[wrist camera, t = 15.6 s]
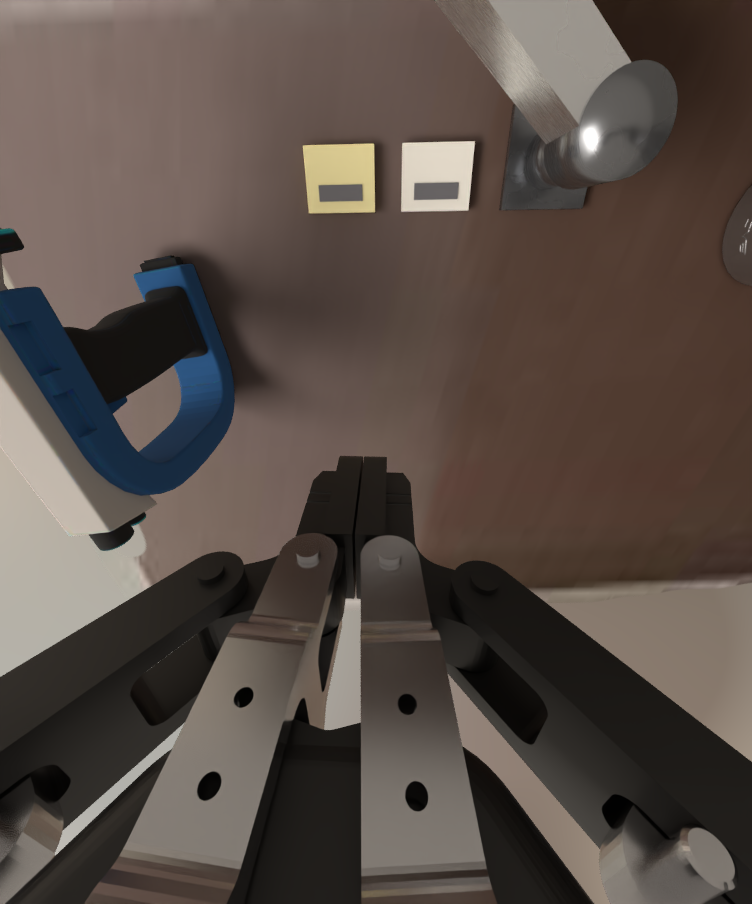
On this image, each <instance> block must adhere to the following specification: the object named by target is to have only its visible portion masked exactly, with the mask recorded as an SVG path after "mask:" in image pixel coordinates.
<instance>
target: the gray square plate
mask: <svg viewBox="0 0 752 904" xmlns="http://www.w3.org/2000/svg"><path fill="white" fill-rule="evenodd" d="M544 146H545V142H544V141H543V140H542V138H541V137H540V136H539V135H538V133H537V132H536V131H535V129H534V128H533V127H532V126H531V124H530V123H529V122H528V120H527V119H526V118H525V117H524V115H523V114H522V113H521V111H520V110H519V109H518V108H517V106H516V105H515V104H514V105H513V110H512V117H511V125H510V132H509V140H508V148H507V155H506V163H505V170H504V178H503V185H502V193H501V201H500V208H499V210H539V209H581V208H583V204H584V199H585V195H586V190H587V187H585V188H580V189H574V190H570V189H564V188H561V187H559V186H558V185H556V184H555V183H554V182H553V181H552V180H551V179H550V177H549V176H548V173H547V171H546V168H545V164H544Z"/></svg>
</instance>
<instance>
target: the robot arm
mask: <svg viewBox="0 0 752 904" xmlns="http://www.w3.org/2000/svg"><path fill="white" fill-rule="evenodd" d="M722 252H723V261H724V264H725V266H726V269H727V271H728V272H729V274H730V275H731V276H732V277H733V278H734V279H735V280H737V281H739V282H740V283H742V284H745V285H750V286H752V185H751V187H750V188H749V189H748V190H747V191H746V192H745V194H744V195H743V197H742V198H741V200H740V201H739V203H738V204H737V206H736V207H735V209H734V211H733V213H732V215H731V217H730V219H729V221H728V224H727V228H726V231H725V234H724V239H723V247H722ZM386 469H387V457H364V463H363V457H361V456H340V457H339V461H338V466H337V470H336V471H322V472H321V473H320V474H319V475H318V476H317V477H316V478H315V479H314V480H313V483H312V486H311V489H310V494H309V496H308V499H307V503H306V505H305V509H304V512H303V515H302V518H301V521H300V525H299V528H298V531H297V534H296V537H294V538H292V539H291V540H289V541H288V542H287V543H286V544H285V545H284V546H283V547H282V549H281V551H280V553H279V555H278V556H276V557H273V558H271V559H268V560H264V561H260V562H255V563H251V564H246V565H244V564H243V562H242V560H241V558H240V557H239V556H237V555H236V554H233V553H230V552H214V553H210V554H206V555H204V556H201V557H200V558H198V559H196V560H194V561H192V562H191V563H189V564H187V565H186V566H184V567H183V568H181V569H179V570H178V571H176V572H174V573H173V574H171V575H169V576H168V577H166V578H164V579H163V580H161V581H159V582H158V583H156V584H154V585H153V586H151V587H149V588H148V589H146V590H144V591H143V592H141V593H139V594H138V595H136V596H134V597H133V598H131V599H129V600H128V601H126V602H124V603H123V604H121V605H119V606H118V607H116V608H115V609H113V610H111V611H109V612H108V613H106V614H104V615H103V616H101V617H99V618H98V619H96V620H95V621H93V622H91V623H89V624H88V625H86V626H84V627H83V628H81V629H80V630H78V631H76V632H74V633H73V634H71V635H70V636H68V637H66V638H65V639H63V640H61V641H60V642H58V643H56V644H55V645H53V646H52V647H50V648H48V649H46V650H45V651H43V652H41V653H40V654H38V655H36V656H35V657H33V658H31V659H30V660H28V661H26V662H25V663H23V664H22V665H20V666H18V667H16V668H15V669H13V670H11V671H10V672H8V673H6V674H5V675H3V676H2V677H0V904H594V903H593V902H592V900H591V899H590V898H589V896H588V895H587V894H586V892H585V891H584V890H583V889H582V887H581V886H580V885H579V883H578V882H577V880H576V879H575V878H574V876H573V875H572V874H571V872H570V871H569V870H568V868H567V867H566V866H565V864H564V863H563V862H562V860H561V859H560V858H559V856H558V855H557V854H556V853H555V851H554V850H553V848H552V847H551V846H550V844H549V843H548V842H547V840H546V839H545V838H544V836H543V835H542V834H541V832H540V831H539V830H538V828H537V827H536V826H535V824H534V823H533V822H532V820H531V819H530V818H529V816H528V815H527V814H526V812H525V811H524V810H523V808H522V807H521V806H520V804H519V803H518V802H517V800H516V799H515V798H514V796H513V795H512V794H511V792H510V791H509V790H508V788H507V787H506V786H505V785H504V783H503V782H502V781H501V780H500V779H499V778H498V777H497V775H496V774H495V773H494V772H493V771H492V770H491V769H490V768H489V767H488V766H487V765H486V764H485V763H484V762H482V761H481V760H480V759H479V758H478V757H477V756H475V755H474V754H472V753H471V752H470V751H468V750H467V749H465V748H464V747H462V743H461V738H460V733H459V728H458V723H457V718H456V713H455V708H454V703H453V698H452V693H451V688H450V684H449V678H448V674H449V675H450V676H451V678H452V679H453V680H454V681H455V682H456V683H457V685H458V686H459V687H460V688H461V689H462V690H463V691H464V692H465V694H466V695H467V696H468V697H469V698H470V700H471V701H472V702H473V703H474V704H475V705H476V706H477V707H478V709H479V710H480V711H481V712H482V713H483V715H484V716H485V717H486V718H487V719H488V720H489V721H490V723H491V724H492V725H493V726H494V727H495V728H496V730H497V731H498V732H499V733H500V734H501V735H502V736H503V738H504V739H505V740H506V741H507V742H508V743H509V745H510V746H511V747H512V748H513V749H514V750H515V752H516V753H517V754H518V755H519V756H520V757H521V758H522V760H523V761H524V762H525V763H526V764H527V765H528V767H529V768H530V769H531V770H532V771H533V772H534V774H535V775H536V776H537V777H538V778H539V779H540V780H541V782H542V783H543V784H544V785H545V786H546V787H547V789H548V790H549V791H550V792H551V793H552V794H553V795H554V797H555V798H556V799H557V800H558V801H559V802H560V804H561V805H562V806H563V807H564V808H565V809H566V810H567V812H568V813H569V814H570V815H571V816H572V817H573V818H574V820H575V821H576V822H577V823H578V824H579V826H581V828H582V829H583V830H584V831H585V832H586V833H587V835H588V836H589V837H590V838H591V839H592V841H593V842H594V843H595V844H596V845H597V846H598V847H599V849H600V853H599V865H600V874H601V878H602V883H603V886H604V889H605V892H606V895H607V897H608V900H609V902H610V904H752V762H751V761H750V760H748V759H747V758H746V757H744V756H743V755H742V754H741V753H739V752H738V751H737V750H735V749H734V748H733V747H732V746H730V745H729V744H728V743H726V742H725V741H724V740H722V739H721V738H720V737H719V736H717V735H716V734H714V733H713V732H712V731H711V730H710V729H708V728H707V727H706V726H704V725H703V724H702V723H701V722H699V721H698V720H696V719H695V718H694V717H693V716H692V715H690V714H689V713H687V712H686V711H685V710H684V709H682V708H681V707H680V706H679V705H677V704H676V703H675V702H673V701H672V700H671V699H670V698H668V697H667V696H666V695H664V694H663V693H662V692H661V691H659V690H658V689H657V688H655V687H654V686H653V685H651V684H650V683H649V682H648V681H646V680H645V679H644V678H642V677H641V676H640V675H638V674H637V673H636V672H635V671H633V670H632V669H631V668H630V667H628V666H627V665H626V664H624V663H623V662H622V661H620V660H619V659H618V658H617V657H615V656H614V655H613V654H611V653H610V652H609V651H608V650H606V649H605V648H604V647H602V646H601V645H600V644H598V643H597V642H596V641H595V640H593V639H592V638H591V637H589V636H588V635H587V634H586V633H584V632H583V631H582V630H580V629H579V628H578V627H577V626H575V625H574V624H573V623H571V622H570V621H569V620H568V619H566V618H565V617H564V616H562V615H561V614H560V613H558V612H557V611H556V610H555V609H553V608H552V607H551V606H549V605H548V604H547V603H546V602H544V601H543V600H542V599H540V598H539V597H538V596H537V595H535V594H534V593H533V592H531V591H530V590H529V589H527V588H526V587H525V586H524V585H522V584H521V583H520V582H518V581H517V580H516V579H515V578H513V577H512V576H511V575H509V574H508V573H507V572H506V571H504V570H503V569H501V568H500V567H498V566H496V565H494V564H491V563H489V562H485V561H469V562H465V563H463V564H461V565H460V566H458V567H457V568H456V570H452V569H449V568H446V567H442V566H439V565H437V564H434V563H432V562H430V561H429V560H427V559H426V558H425V557H424V556H423V555H422V554H421V553H420V552H419V551H418V549H417V547H416V544H415V537H414V524H413V511H412V498H411V485H410V482H409V480H408V479H407V478H406V476H405V475H404V474H403V473H386ZM355 587H356V588H357V598H358V599H361V723H358V724H354V725H350V726H346V727H342V728H338V729H334V730H324V725H325V711H326V701H327V696H328V690H329V686H330V681H331V677H332V672H333V667H334V662H335V657H336V652H337V648H338V643H339V638H340V633H341V628H342V617H343V613H344V606H345V598H353V599H354V597H355ZM193 636H194V637H193ZM189 639H190V640H189ZM182 644H183V645H182ZM178 647H179V648H178ZM174 650H175V651H174ZM170 653H171V654H170ZM166 656H167V657H166ZM162 659H163V660H162ZM158 662H159V663H158ZM155 664H156V665H155ZM151 667H152V668H151ZM147 670H148V671H147ZM184 722H185V723H184ZM183 723H184V725H183V728H182V730H181V732H180V734H179V736H178V738H177V740H176V742H175V744H174V746H173V748H172V749H171V750H170V751H168V752H167V753H166V754H164V755H163V756H162V757H161V758H159V759H158V760H157V761H156V762H154V763H153V764H152V765H151V766H150V767H149V768H148V769H146V771H144V772H143V773H142V774H141V775H140V776H139V777H138V778H137V779H136V780H135V781H134V782H133V783H132V784H131V785H129V786H128V788H126V790H124V791H123V792H122V793H121V794H120V795H119V796H118V797H117V798H116V799H115V800H114V801H113V802H112V803H111V804H109V805H108V806H107V807H106V808H105V809H104V810H103V811H102V812H101V813H100V814H99V815H98V816H97V817H96V818H95V819H94V820H93V821H92V822H91V823H89V824H88V826H87V827H85V828H84V829H83V830H82V831H81V832H80V833H79V834H78V835H77V836H76V837H75V838H74V839H73V840H72V841H71V842H69V843H68V844H67V845H66V846H65V847H64V848H63V849H62V850H61V851H60V852H59V853H58V854H57V855H56V856H55V851H56V849H57V846H58V844H59V841H60V838H61V835H62V830H64V829H65V828H66V827H67V826H68V825H69V824H70V823H71V822H73V821H74V820H75V819H76V818H77V817H78V816H79V815H80V814H82V813H83V812H84V811H85V810H86V809H87V808H88V807H90V806H91V805H92V804H93V803H94V802H95V801H96V800H97V799H99V798H100V797H101V796H102V795H103V794H104V793H105V792H106V791H107V790H109V789H110V788H111V787H112V786H113V785H114V784H115V783H117V782H118V781H119V780H120V779H121V778H122V777H123V776H125V775H126V774H127V773H128V772H129V771H130V770H131V769H132V768H134V767H135V766H136V765H137V764H138V763H139V762H140V761H142V760H143V759H144V758H145V757H146V756H147V755H148V754H149V753H150V752H152V751H153V750H154V749H155V748H156V747H157V746H158V745H159V744H161V743H162V742H163V741H164V740H165V739H166V738H167V737H169V736H170V735H171V734H172V733H173V732H174V731H175V730H176V729H177V728H179V727H180V726H181V725H182V724H183Z"/></svg>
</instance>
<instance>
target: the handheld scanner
mask: <svg viewBox="0 0 752 904" xmlns="http://www.w3.org/2000/svg"><path fill="white" fill-rule="evenodd" d="M23 248H24V245H23V243H22V242H21V240H20V238H19V237H18V235H17V233H16V232H15V231H14V230H13V229H10V228H8V229H1V228H0V447H1V449H2V450H3V451H4V452H5V454H6V455H7V457H8V458H9V459H10V460H11V462H12V463H13V464H14V466H15V467H16V468H17V469H18V471H19V472H20V473H21V475H22V476H23V477H24V479H25V480H26V481H27V482H28V484H29V485H30V486H31V488H32V489H33V490H34V492H35V493H36V494H37V495H38V497H39V498H40V499H41V501H42V502H43V503H44V504H45V506H46V507H47V508H48V509H49V511H50V512H51V513H52V515H53V516H54V517H55V519H56V520H57V521H58V522H59V524H60V525H61V526H62V528H63V529H64V530H65V531H66V533H67V534H68V535H69V536H78V535H87V534H89V536H90V537H91V538H92V540H93V541H94V543H95V544H96V545H97V547H98V548H99V549H100V550H102V551H108V550H113V549H115V548H118V547H120V546H122V545H123V544H125V543H126V542H127V541H128V540H130V539H131V537H132V536H133V534H134V530H133V528H132V526H134V525H137V524H139V523H140V522H142V521H143V520H144V519H145V518H146V514H145V511H147V510H148V509H150V508H152V507H153V506H155V505H156V504H157V503H156V502H155V501H154V500H153V499H152V498H151V497H150V495H153V494H161V493H164V492H167V491H170V490H173V489H175V488H176V487H178V486H180V485H181V484H183V483H184V482H185V481H186V480H187V479H188V478H189V477H190V476H192V475H193V474H194V473H195V472H196V471H197V470H198V469H199V468H200V466H201V465H202V464H203V463H204V462H205V461H206V460H207V459H208V457H209V456H210V455H211V454H212V452H213V451H214V450H215V448H216V447H217V446H218V444H219V443H220V442H221V440H222V439H223V437H224V436H225V434H226V432H227V430H228V428H229V426H230V424H231V420H232V416H233V412H234V402H235V398H234V383H233V376H232V371H231V366H230V362H229V359H228V356H227V353H226V351H225V348H224V345H223V343H222V340H221V337H220V334H219V332H218V329H217V326H216V324H215V321H214V318H213V316H212V313H211V310H210V308H209V305H208V302H207V300H206V297H205V294H204V291H203V289H202V286H201V283H200V281H199V278H198V275H197V273H196V270H195V267H194V265H193V264H183V263H182V260H181V258H179V257H174V256H167V257H162V258H157V259H151V260H146V261H144V262H145V263H142V264H141V265H140V267H141V269H142V272H139V273H136V274H134V278H135V281H136V283H137V285H138V287H139V289H140V292H141V294H142V296H143V298H144V301H145V302H143V303H140V304H136V305H133V306H130V307H127V308H124V309H121V310H119V311H116V312H113V313H111V314H109V315H107V316H105V317H104V318H103V319H102V320H101V321H100V322H99V323H98V324H97V325H96V326H94V327H92V328H91V329H89V330H84V329H79V328H73V327H63V326H62V325H61V323H60V321H59V319H58V318H57V316H56V314H55V312H54V311H53V309H52V307H51V306H50V304H49V302H48V301H47V299H46V297H45V296H44V294H43V292H42V291H41V289H40V288H38V287H24V288H16V289H9V290H8V289H7V287H6V286H5V284H4V280H3V269H2V258H1V254H3V253H8V252H13V251H18V250H22V249H23ZM173 365H174V368H175V370H176V372H177V375H178V378H179V382H180V387H181V406H180V410H179V412H178V414H177V416H176V418H175V419H174V421H173V422H172V423H171V424H170V425H169V426H168V427H167V428H166V429H165V430H164V431H163V432H162V433H161V434H159V435H158V436H157V437H156V438H155V439H154V440H153V441H151V442H150V443H149V444H148V445H147V446H146V447H144V448H143V449H142V450H141V451H139V452H137V450H136V449H135V448H134V447H133V446H132V445H131V444H130V442H129V441H128V439H127V438H126V436H125V435H124V433H123V432H122V430H121V428H120V426H119V425H118V423H117V421H116V419H115V418H114V416H113V413H114V412H115V411H116V410H118V409H119V408H120V407H121V406H122V405H124V404H125V403H126V402H127V398H126V396H127V395H129V394H131V393H132V392H134V391H136V390H137V389H139V388H141V387H142V386H144V385H145V384H147V383H149V382H150V381H152V380H153V379H155V378H156V377H157V376H159V375H160V374H162V373H163V372H165V371H166V370H167V369H169V368H170V367H171V366H173Z"/></svg>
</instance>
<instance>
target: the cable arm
mask: <svg viewBox="0 0 752 904" xmlns="http://www.w3.org/2000/svg"><path fill="white" fill-rule="evenodd" d="M434 1H435V2H436V3H437V5H438V6H439V7H440V9H441V10H442V11H443V12H444V14H445V15H446V16H447V18H448V19H449V20H450V21H451V23H452V24H453V25H454V27H455V28H456V29H457V30H458V32H459V33H460V34H461V36H462V37H463V38H464V39H465V41H466V42H467V43H468V45H469V46H470V47H471V48H472V50H473V51H474V52H475V54H476V55H477V56H478V57H479V59H480V60H481V61H482V63H483V64H484V65H485V66H486V68H487V69H488V70H489V72H490V73H491V74H492V75H493V77H494V78H495V79H496V81H497V82H498V83H499V84H500V86H501V87H502V88H503V90H504V91H505V92H506V93H507V95H508V96H509V97H510V99H511V100H512V101H513V102H514V104H515V105H516V106H517V108H518V109H519V110H520V111H521V113H522V114H523V115H524V117H525V118H526V119H527V120H528V122H529V123H530V124H531V126H532V127H533V128H534V129H535V131H536V132H537V133H538V135H539V136H540V137H541V138H542V140H543V141H544V142H545V146H544V164H545V168H546V171H547V173H548V176H549V177H550V179H551V180H552V181H553V182H554V183H555V184H556V185H558V186H559V187H561V188H564V189H570V190H574V189H580V188H585V187H589V186H594V185H598V184H602V183H607V182H611V181H616V180H620V179H624V178H627V177H630V176H632V175H634V174H636V173H637V172H639V171H640V170H642V169H643V168H644V167H645V166H647V165H648V164H649V163H650V162H651V161H652V160H653V159H654V158H655V157H656V155H657V154H658V153H659V151H660V150H661V149H662V147H663V146H664V144H665V142H666V141H667V139H668V137H669V135H670V132H671V130H672V127H673V124H674V121H675V118H676V112H677V103H678V98H677V89H676V85H675V81H674V79H673V77H672V75H671V74H670V72H669V71H668V70H667V69H666V68H665V67H664V66H663V65H661V64H660V63H658V62H655V61H651V60H638V61H634V62H631V60H630V59H629V57H628V56H627V54H626V53H625V51H624V49H623V48H622V46H621V45H620V43H619V42H618V40H617V38H616V37H615V35H614V34H613V32H612V31H611V29H610V27H609V26H608V24H607V23H606V21H605V20H604V18H603V16H602V15H601V13H600V12H599V10H598V8H597V7H596V5H595V4H594V2H593V1H592V0H434Z"/></svg>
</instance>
